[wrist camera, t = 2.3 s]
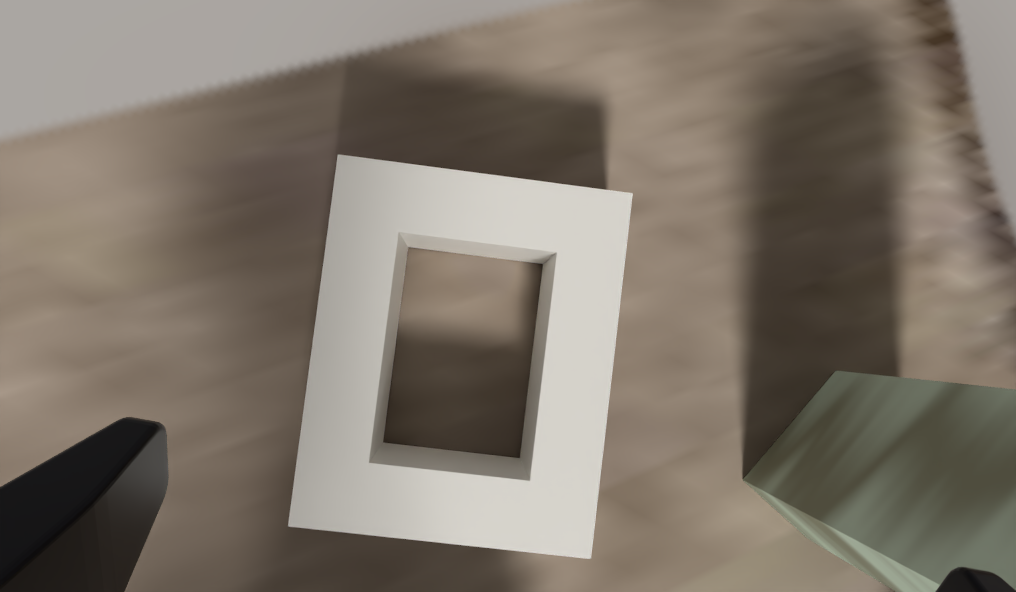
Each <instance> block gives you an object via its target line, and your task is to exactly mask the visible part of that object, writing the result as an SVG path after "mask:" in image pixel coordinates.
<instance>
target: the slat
mask: <svg viewBox="0 0 1016 592" xmlns="http://www.w3.org/2000/svg"><path fill="white" fill-rule="evenodd" d="M743 481H744V482H746V483H747V484H748V485H749V486H750V487H751V488H752V489H753V490H754V491H756V492H757V493H758V494H759V495H760V496H761V497H762V498H763V499H764V500H766V501H767V502H768V503H769V504H770V505H771V506H772V507H773V508H774V509H776V510H777V511H778V512H779V513H780V514H781V515H782V516H783V517H784V518H785V519H787V520H788V521H789V522H790V523H791V524H792V525H793V526H794V527H795V528H797V529H798V530H799V531H800V532H801V533H802V534H803V535H804V536H805V537H807V538H808V539H809V540H811V541H813V542H814V543H816V544H818V545H819V546H821V547H823V548H824V549H826V550H828V551H829V552H831V553H833V554H834V555H836V556H838V557H839V558H841V559H843V560H844V561H846V562H848V563H849V564H851V565H853V566H854V567H856V568H858V569H859V570H861V571H863V572H864V573H866V574H868V575H869V576H871V577H873V578H874V579H876V580H877V581H879V582H881V583H882V584H884V585H886V586H887V587H889V588H891V589H892V590H894V591H896V592H935V591H936V590H937V589H938V587H939V586H940V584H941V583H942V582H943V580H944V579H945V577H946V576H947V575H948V573H949V572H950V571H951V570H953V569H955V568H957V567H967V568H973V569H978V570H984V571H989V572H992V573H994V574H996V575H998V576H999V577H1001V578H1002V579H1003V580H1004V581H1005V582H1007V583H1008V584H1009V585H1010V586H1011V587H1012V588H1013V589H1015V590H1016V390H1015V389H1005V388H996V387H987V386H977V385H968V384H958V383H949V382H940V381H930V380H921V379H911V378H902V377H893V376H883V375H874V374H864V373H855V372H846V371H835V372H834V373H833V374H832V376H831V377H830V378H829V379H828V380H827V381H826V383H825V384H824V385H823V386H822V387H821V389H820V390H819V391H818V392H817V393H816V394H815V396H814V397H813V398H812V399H811V400H810V401H809V403H808V404H807V405H806V406H805V407H804V408H803V410H802V411H801V412H800V413H799V414H798V416H797V417H796V418H795V419H794V420H793V421H792V423H791V424H790V425H789V426H788V427H787V428H786V430H785V431H784V432H783V433H782V434H781V435H780V437H779V438H778V439H777V440H776V441H775V443H774V444H773V445H772V446H771V447H770V448H769V450H768V451H767V452H766V453H765V454H764V455H763V457H762V458H761V459H760V460H759V461H758V462H757V464H756V465H755V466H754V467H753V468H752V470H751V471H750V472H749V473H748V474H747V475H746V477H745V478H744V479H743Z"/></svg>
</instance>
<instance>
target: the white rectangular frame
mask: <svg viewBox="0 0 1016 592" xmlns="http://www.w3.org/2000/svg"><path fill="white" fill-rule="evenodd" d="M632 195H633V193H626V192H619V191H611V190H604V189H596V188H588V187H581V186H573V185H566V184H558V183H551V182H543V181H536V180H528V179H520V178H513V177H505V176H498V175H490V174H483V173H475V172H467V171H460V170H452V169H445V168H437V167H430V166H422V165H415V164H407V163H399V162H392V161H384V160H377V159H369V158H362V157H354V156H347V155H339V154H338V157H337V165H336V172H335V180H334V187H333V194H332V202H331V209H330V217H329V224H328V232H327V239H326V247H325V254H324V262H323V269H322V276H321V284H320V291H319V299H318V306H317V314H316V321H315V329H314V336H313V344H312V351H311V358H310V366H309V373H308V381H307V388H306V396H305V403H304V411H303V418H302V426H301V433H300V440H299V448H298V455H297V463H296V470H295V478H294V485H293V493H292V500H291V508H290V515H289V522H288V526H289V527H298V528H307V529H317V530H326V531H335V532H345V533H354V534H363V535H373V536H382V537H391V538H400V539H410V540H419V541H428V542H438V543H447V544H456V545H466V546H475V547H484V548H493V549H503V550H512V551H521V552H531V553H540V554H549V555H559V556H568V557H577V558H586V559H591V554H592V545H593V536H594V527H595V519H596V510H597V501H598V492H599V484H600V475H601V466H602V457H603V449H604V440H605V431H606V422H607V414H608V405H609V396H610V387H611V379H612V370H613V361H614V352H615V344H616V335H617V326H618V317H619V309H620V300H621V291H622V282H623V273H624V265H625V256H626V247H627V238H628V230H629V221H630V212H631V203H632ZM408 247H412V248H420V249H428V250H436V251H444V252H452V253H459V254H467V255H475V256H483V257H491V258H499V259H507V260H515V261H523V262H530V263H538V264H543V268H542V277H541V285H540V293H539V302H538V310H537V318H536V327H535V335H534V343H533V352H532V360H531V368H530V377H529V385H528V394H527V402H526V410H525V419H524V427H523V435H522V444H521V452H520V458H514V457H505V456H497V455H488V454H479V453H470V452H461V451H453V450H444V449H435V448H426V447H417V446H409V445H400V444H391V443H383V440H384V432H385V425H386V417H387V409H388V401H389V393H390V386H391V378H392V370H393V362H394V355H395V347H396V339H397V331H398V323H399V316H400V308H401V300H402V292H403V285H404V277H405V269H406V261H407V254H408Z"/></svg>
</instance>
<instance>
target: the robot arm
mask: <svg viewBox="0 0 1016 592" xmlns="http://www.w3.org/2000/svg"><path fill="white" fill-rule="evenodd" d="M167 485H168V457H167V435H166V430H165V427H164V426H163V425H162V424H161V423H159V422H155V421H150V420H144V419H139V418H133V417H126V418H122V419H120V420H118V421H116V422H114V423H112V424H110V425H109V426H107V427H105V428H103V429H102V430H100V431H98V432H96V433H95V434H93V435H91V436H89V437H88V438H86V439H84V440H82V441H81V442H79V443H77V444H75V445H73V446H72V447H70V448H68V449H66V450H65V451H63V452H61V453H59V454H58V455H56V456H54V457H52V458H51V459H49V460H47V461H45V462H44V463H42V464H40V465H38V466H36V467H35V468H33V469H31V470H29V471H28V472H26V473H24V474H22V475H21V476H19V477H17V478H15V479H14V480H12V481H10V482H8V483H7V484H5V485H3V486H1V487H0V592H124V591H125V589H126V586H127V584H128V582H129V579H130V577H131V575H132V572H133V570H134V568H135V565H136V563H137V561H138V558H139V556H140V553H141V551H142V549H143V546H144V544H145V542H146V539H147V537H148V535H149V532H150V530H151V528H152V525H153V523H154V521H155V518H156V516H157V514H158V511H159V509H160V507H161V504H162V502H163V499H164V497H165V493H166V490H167ZM935 592H1016V590H1015V589H1013V588H1012V587H1011V586H1010V585H1009V584H1008V583H1007V582H1005V581H1004V580H1003V579H1002V578H1001V577H999V576H998V575H996V574H994V573H992V572H989V571H984V570H978V569H973V568H967V567H957V568H955V569H953V570H951V571H950V572H949V573H948V575H947V576H946V577H945V579H944V580H943V582H942V583H941V584H940V586H939V587H938V589H937V590H936V591H935Z"/></svg>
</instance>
